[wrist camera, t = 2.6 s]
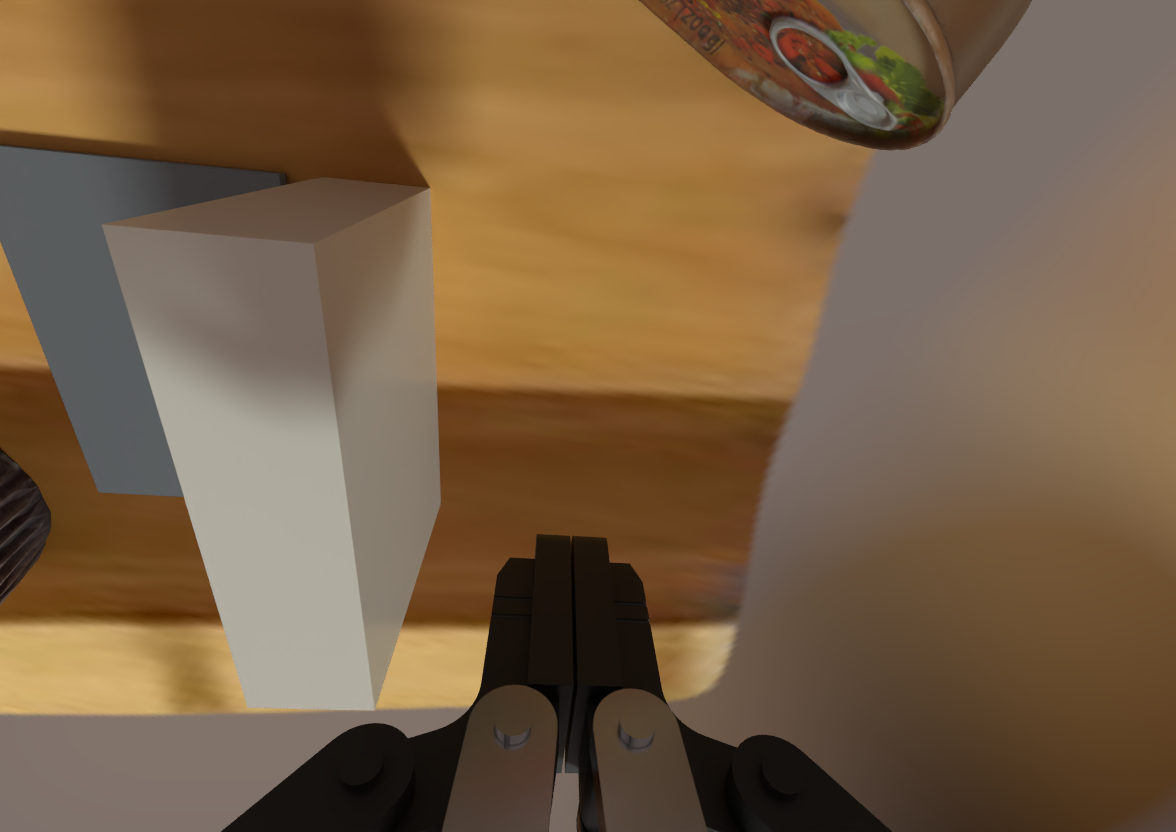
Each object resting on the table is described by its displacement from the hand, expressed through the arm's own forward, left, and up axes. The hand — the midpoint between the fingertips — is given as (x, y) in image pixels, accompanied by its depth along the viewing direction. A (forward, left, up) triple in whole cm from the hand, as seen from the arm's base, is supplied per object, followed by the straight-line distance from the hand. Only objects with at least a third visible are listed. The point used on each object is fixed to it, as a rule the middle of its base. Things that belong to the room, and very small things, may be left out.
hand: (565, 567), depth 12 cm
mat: (0, -13, -9) cm, 16 cm away
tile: (0, -6, -9) cm, 11 cm away
